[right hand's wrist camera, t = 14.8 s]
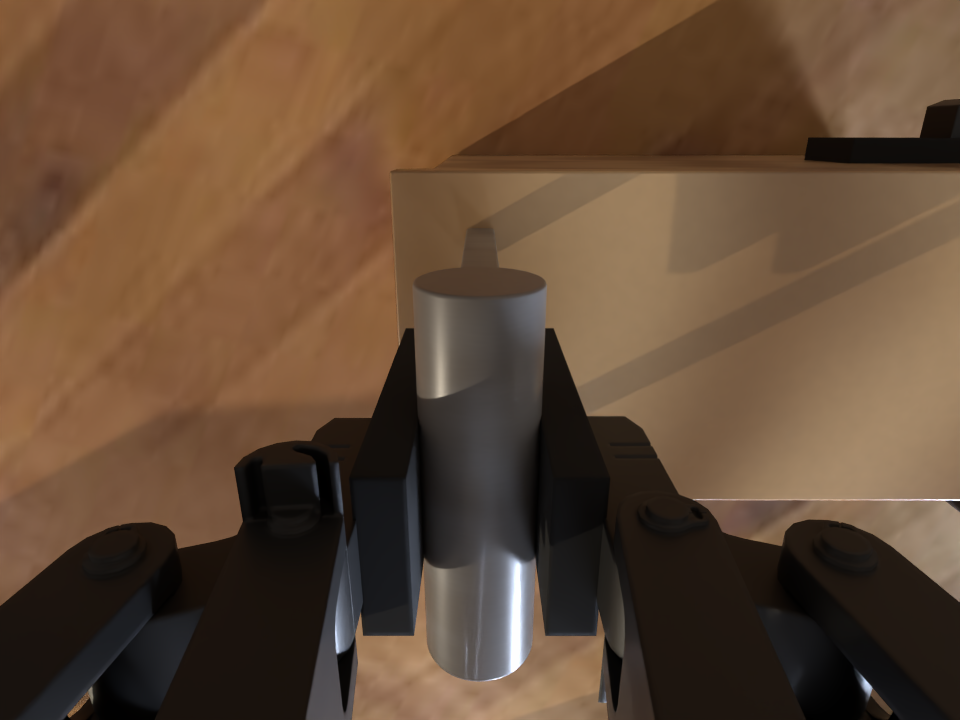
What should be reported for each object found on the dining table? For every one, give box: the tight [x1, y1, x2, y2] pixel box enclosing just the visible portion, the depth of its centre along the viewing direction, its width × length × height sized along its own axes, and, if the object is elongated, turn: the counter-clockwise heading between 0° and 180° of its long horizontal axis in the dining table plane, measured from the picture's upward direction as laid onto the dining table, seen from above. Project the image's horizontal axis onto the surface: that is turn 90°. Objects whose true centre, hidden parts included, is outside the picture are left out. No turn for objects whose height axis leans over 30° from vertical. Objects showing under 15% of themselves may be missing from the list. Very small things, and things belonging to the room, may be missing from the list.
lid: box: [390, 169, 960, 681], centre depth 13 cm, size 18×9×8 cm, turn 90°
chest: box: [434, 155, 960, 169], centre depth 22 cm, size 17×9×11 cm, turn 90°
